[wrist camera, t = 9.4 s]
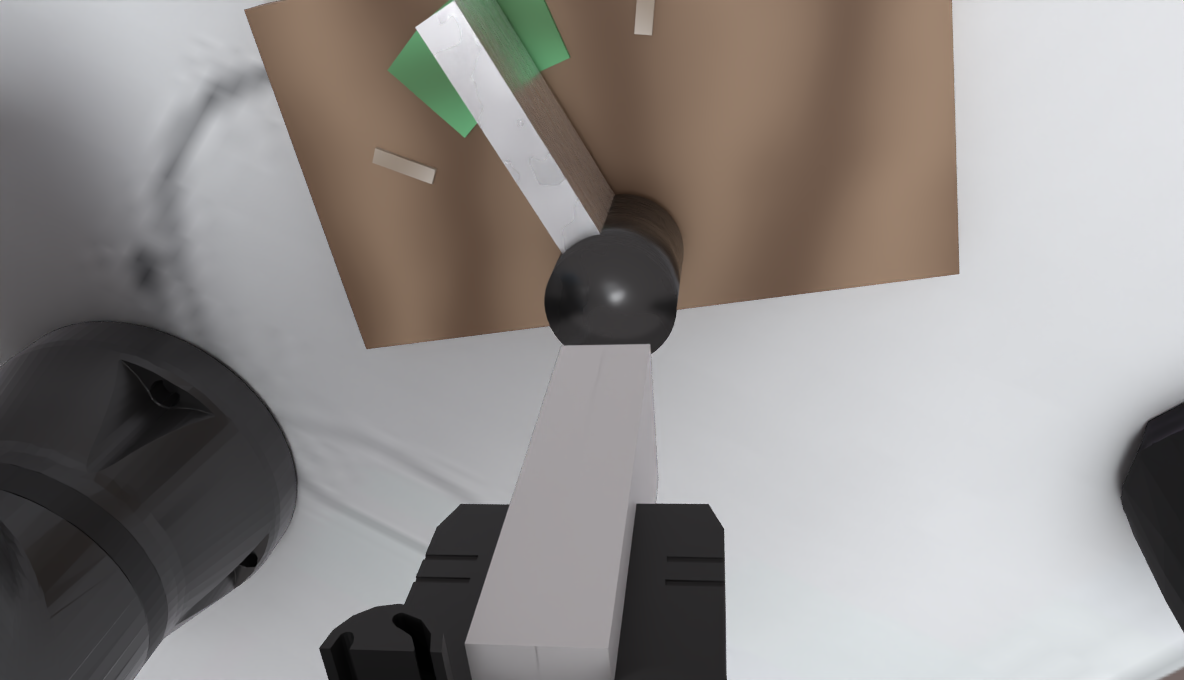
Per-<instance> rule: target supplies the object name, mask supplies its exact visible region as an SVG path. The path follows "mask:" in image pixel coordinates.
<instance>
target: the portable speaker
mask: <svg viewBox="0 0 1184 680" xmlns="http://www.w3.org/2000/svg"><path fill="white" fill-rule="evenodd" d="M1121 501H1122V505H1123V510H1124V512H1125V513H1126V516H1127V519H1128V521H1129V524H1130V526H1131V529H1132V532H1133V534H1134V537H1135V539H1136V541H1137V543H1138V545H1139V547H1140V549H1141V551H1142V553H1143V555H1144V557H1145V559H1146V561H1147V563H1148V565H1149V567H1150V570H1151V572H1152V574H1153V576H1154V578H1155V580H1156V582H1157V584H1158V586H1159V588H1160V590H1161V592H1162V594H1163V596H1164V598H1165V600H1166V602H1167V604H1168V606H1169V608H1170V609H1171V611H1172V613H1173V615H1174V616H1175V618H1176V620H1177V622H1178V623H1179V625H1180V627H1181V629H1182V630H1183V632H1184V403H1183V404H1182V405H1180V406H1178V407H1176V408H1174V409H1172V410H1170V411H1168V412H1166V413H1164V414H1162V415H1160V416H1158V417H1157V418H1155V419H1153V420H1151V421H1149V422H1148V425H1147V428H1146V431H1145V434H1144V437H1143V440H1142V443H1141V446H1140V448H1139V450H1138V453H1137V455H1136V457H1135V460H1134V462H1133V464H1132V466H1131V468H1130V471H1129V473H1128V475H1127V477H1126V479H1125V482H1124V484H1123V486H1122V497H1121Z"/></svg>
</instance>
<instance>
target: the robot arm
mask: <svg viewBox="0 0 1184 680" xmlns="http://www.w3.org/2000/svg"><path fill="white" fill-rule="evenodd" d="M657 487H658V465H657V448H656V432H655V415H654V398H653V382H652V365H651V349H650V344H626V345H566V346H561V348H560V351H559V354H558V357H557V360H556V363H555V366H554V370H553V373H552V376H551V379H550V382H549V385H548V388H547V391H546V394H545V397H544V400H543V403H542V407H541V410H540V413H539V416H538V419H537V422H536V425H535V428H534V431H533V434H532V437H531V440H530V444H529V447H528V450H527V453H526V456H525V459H524V462H523V465H522V468H521V471H520V474H519V477H518V481H517V484H516V487H515V490H514V493H513V496H512V499H511V502H510V505H497V504H460V505H459V506H458V507H457V508H456V509H455V510H454V511H453V512H452V513H451V514H450V515H449V516H448V517H447V518H446V519H445V520H444V521H443V522H442V523H441V524H440V525H439V526H438V527H437V528H436V531H435V533H434V535H433V538H432V540H431V542H430V545H429V547H428V550H427V552H426V558H425V560H423V561H422V564H421V566H420V568H419V571H418V573H417V576H416V582H414V583H413V585H412V587H411V590H410V592H409V594H408V597H407V599H406V601H405V604H404V605H403V604H394V605H386V606H377V607H374V608H371V609H369V610H366V611H364V612H361V613H359V614H356V615H353V616H352V617H350V618H349V619H348V620H346V621H345V622H343V623H342V624H341V625H339V626H338V627H337V628H335V629H334V630H333V631H332V632H331V633H330V635H329V636H328V637H327V639H326V640H325V641H324V643H323V644H322V645H321V647H320V648H319V649H320V653H321V656H322V659H323V662H324V666H325V669H326V672H327V676H328V679H329V680H727V676H726V604H725V553H724V528H723V527H722V525H721V523H720V522H719V520H718V519H717V517H716V515H715V514H714V512H713V511H712V509H711V507H710V506H709V504H656V498H657ZM296 490H297V489H296V475H295V469H294V465H293V460H292V457H291V454H290V451H289V448H288V446H287V443H286V441H285V439H284V437H283V434H282V432H281V431H280V429H279V427H278V425H277V423H276V422H275V420H274V419H273V417H272V416H271V414H270V413H269V411H268V410H267V409H266V407H265V406H264V405H263V403H262V402H261V401H260V400H259V398H258V397H257V396H256V395H255V394H254V393H253V392H252V391H251V390H250V389H249V387H248V386H247V385H246V384H245V383H243V382H242V381H241V380H240V379H239V378H238V377H237V376H236V375H235V374H233V373H232V372H231V371H230V370H229V369H227V368H226V367H225V366H223V365H222V364H221V363H220V362H218V361H217V360H215V359H214V358H212V357H211V356H209V355H208V354H206V353H204V352H203V351H201V350H199V349H198V348H196V347H194V346H192V345H190V344H188V343H186V342H184V341H182V340H180V339H178V338H175V337H173V336H171V335H168V334H165V333H163V332H160V331H157V330H153V329H150V328H146V327H142V326H138V325H133V324H128V323H120V322H105V321H103V322H86V323H79V324H74V325H70V326H66V327H63V328H60V329H58V330H55V331H53V332H51V333H49V334H47V335H45V336H44V337H42V338H40V339H39V340H37V341H36V342H34V343H33V344H31V345H30V346H29V347H27V348H26V349H24V350H23V351H21V352H20V353H18V354H17V355H15V356H14V357H13V358H11V359H10V360H9V361H7V362H6V363H5V364H4V365H3V366H2V367H1V368H0V680H134V678H135V677H136V675H137V674H138V672H139V671H140V669H141V668H142V667H143V665H144V664H145V663H146V661H147V660H148V659H149V657H150V656H151V655H152V653H153V652H154V651H155V649H156V648H157V646H158V645H159V644H160V643H161V641H162V640H163V639H164V638H165V637H166V636H168V635H169V634H170V633H172V632H173V631H175V630H176V629H178V628H179V627H180V626H182V625H183V624H185V623H186V622H188V621H189V620H190V619H192V618H193V617H195V616H196V615H198V614H199V613H200V612H202V611H203V610H205V609H206V608H208V607H209V606H210V605H212V604H213V603H215V602H216V601H218V600H219V599H220V598H222V597H223V596H225V595H226V594H228V593H229V592H231V591H232V590H233V589H235V588H236V587H238V586H239V585H241V584H242V583H243V582H245V581H246V580H247V579H248V578H250V577H251V576H252V575H253V574H254V573H255V572H256V571H257V570H258V569H259V568H260V567H261V566H262V564H263V563H264V562H265V561H266V559H267V558H268V556H269V555H270V553H271V552H272V550H273V549H274V548H275V546H276V545H277V543H278V542H279V540H280V539H281V537H282V536H283V534H284V533H285V531H286V529H287V527H288V525H289V523H290V521H291V518H292V515H293V512H294V508H295V502H296Z"/></svg>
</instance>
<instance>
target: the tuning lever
mask: <svg viewBox="0 0 1184 680" xmlns="http://www.w3.org/2000/svg"><path fill="white" fill-rule="evenodd" d="M415 28H416V29H417V31H418V32H419V34H420V36H421V37H422V39H423V40H424V42H425V43H426V45H427V46H428V48H429V49H430V51H431V52H432V54H433V56H434V57H435V59H436V60H437V62H438V63H439V65H440V66H441V68H442V69H443V71H444V72H445V74H446V75H447V77H448V79H449V80H450V82H451V83H452V85H453V86H454V88H455V89H456V91H457V92H458V94H459V95H460V97H461V99H462V100H463V102H464V103H465V105H466V106H467V108H468V109H469V111H470V112H471V114H472V115H473V117H474V119H475V120H476V122H477V123H478V125H479V126H480V128H481V129H482V131H483V132H484V134H485V135H486V137H487V139H488V140H489V142H490V143H491V145H492V146H493V148H494V149H495V151H496V152H497V154H498V155H499V157H500V159H501V160H502V162H503V163H504V165H505V166H506V168H507V169H508V171H509V172H510V174H511V175H512V177H513V179H514V180H515V182H516V183H517V185H518V186H519V188H520V189H521V191H522V192H523V194H524V195H525V197H526V199H527V200H528V202H529V203H530V205H531V206H532V208H533V209H534V211H535V212H536V214H537V215H538V217H539V219H540V220H541V222H542V223H543V225H544V226H545V228H546V229H547V231H548V232H549V234H550V235H551V237H552V239H553V240H554V242H555V243H556V245H557V246H558V248H559V249H560V251H561V253H560V256H559V258H558V260H557V262H556V265H555V267H554V269H553V271H552V274H551V276H550V278H549V280H548V283H547V286H546V290H545V296H544V306H545V313H546V317H547V320H548V322H549V325H550V327H551V329H552V331H553V332H554V334H555V335H556V337H557V338H558V339H559V340H560V341H561V342H562V343H563V344H564V346H566V345H626V344H650V349H651V354H652V353H653V352H655V351H656V350H657V349H658V348H659V347H660V346H661V345H662V344H663V343H664V342H665V340H666V339H667V338H668V336H669V334H670V333H671V331H672V328H673V326H674V322H675V318H676V311H677V303H678V295H679V288H680V280H681V272H682V264H683V255H684V244H683V239H682V235H681V232H680V230H679V228H678V226H677V224H676V222H675V221H674V219H673V218H672V216H671V215H670V214H669V213H668V212H667V211H666V210H665V209H664V208H662V207H661V206H660V205H658V204H657V203H655V202H653V201H651V200H649V199H647V198H644V197H641V196H636V195H630V194H617V195H614V193H613V191H612V190H611V188H610V186H609V185H608V183H607V182H606V180H605V178H604V177H603V175H602V173H601V172H600V170H599V168H598V167H597V165H596V163H595V162H594V160H593V159H592V157H591V155H590V154H589V152H588V150H587V149H586V147H585V145H584V144H583V142H582V140H581V139H580V137H579V136H578V134H577V132H576V131H575V129H574V127H573V126H572V124H571V122H570V121H569V119H568V118H567V116H566V114H565V113H564V111H563V109H562V108H561V106H560V104H559V103H558V101H557V99H556V98H555V96H554V95H553V93H552V91H551V90H550V88H549V86H548V85H547V83H546V81H545V80H544V78H543V77H542V75H541V73H540V72H539V70H538V68H537V67H536V65H535V63H534V62H533V60H532V58H531V57H530V55H529V54H528V52H527V50H526V49H525V47H524V45H523V44H522V42H521V40H520V39H519V37H518V36H517V34H516V32H515V31H514V29H513V27H512V26H511V24H510V22H509V21H508V19H507V17H506V16H505V14H504V13H503V11H502V9H501V8H500V6H499V4H498V3H497V1H496V0H454V1H453V2H451V3H450V4H448V5H447V6H445V7H444V8H442V9H441V10H439V11H438V12H437V13H435V14H434V15H432V16H431V17H429V18H428V19H426V20H425V21H423V22H422V23H421V24H419V25H418V26H416V27H415Z"/></svg>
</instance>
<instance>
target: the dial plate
mask: <svg viewBox="0 0 1184 680" xmlns="http://www.w3.org/2000/svg"><path fill="white" fill-rule="evenodd" d="M453 1H454V0H280V1H276V2H271V3H267V4H262V5H259V6H256V7H252V8H249V9H245V10H244V11H245V14H246V16H247V19H248V22H249V25H250V28H251V30H252V33H253V36H254V39H255V41H256V44H257V47H258V50H259V52H260V55H261V58H262V61H263V64H264V66H265V69H266V72H267V75H268V77H269V80H270V83H271V86H272V89H273V91H274V94H275V97H276V100H277V102H278V105H279V108H280V111H281V114H282V116H283V119H284V122H285V125H286V127H287V130H288V133H289V136H290V139H291V141H292V144H293V147H294V150H295V152H296V155H297V158H298V161H299V164H300V166H301V169H302V172H303V175H304V177H305V180H306V183H307V186H308V188H309V191H310V194H311V197H312V200H313V202H314V205H315V208H316V211H317V213H318V216H319V219H320V222H321V225H322V227H323V230H324V233H325V236H326V238H327V241H328V244H329V247H330V250H331V252H332V255H333V258H334V261H335V263H336V266H337V269H338V272H339V275H340V277H341V280H342V283H343V286H344V288H345V291H346V294H347V297H348V300H349V302H350V305H351V308H352V311H353V313H354V316H355V319H356V322H357V325H358V327H359V330H360V333H361V336H362V338H363V341H364V344H365V347H366V349H372V348H380V347H387V346H395V345H403V344H411V343H419V342H427V341H435V340H443V339H450V338H458V337H466V336H474V335H482V334H490V333H498V332H506V331H513V330H521V329H529V328H537V327H545V326H550V325H549V322H548V320H547V317H546V313H545V306H544V296H545V290H546V286H547V283H548V280H549V278H550V276H551V274H552V271H553V269H554V267H555V265H556V262H557V260H558V258H559V256H560V253H561V251H560V249H559V248H558V246H557V245H556V243H555V242H554V240H553V239H552V237H551V235H550V234H549V232H548V231H547V229H546V228H545V226H544V225H543V223H542V222H541V220H540V219H539V217H538V215H537V214H536V212H535V211H534V209H533V208H532V206H531V205H530V203H529V202H528V200H527V199H526V197H525V195H524V194H523V192H522V191H521V189H520V188H519V186H518V185H517V183H516V182H515V180H514V179H513V177H512V175H511V174H510V172H509V171H508V169H507V168H506V166H505V165H504V163H503V162H502V160H501V159H500V157H499V155H498V154H497V152H496V151H495V149H494V148H493V146H492V145H491V143H490V142H489V140H488V139H487V137H486V135H485V134H484V132H483V131H482V129H481V128H480V126H479V125H478V123H477V122H476V120H475V119H474V117H473V115H472V114H471V112H470V111H469V109H468V108H467V106H466V105H465V103H464V102H463V100H462V99H461V97H460V95H459V94H458V92H457V91H456V89H455V88H454V86H453V85H452V83H451V82H450V80H449V79H448V77H447V75H446V74H445V72H444V71H443V69H442V68H441V66H440V65H439V63H438V62H437V60H436V59H435V57H434V56H433V54H432V52H431V51H430V49H429V48H428V46H427V45H426V43H425V42H424V40H423V39H422V37H421V36H420V34H419V32H418V31H417V29H416V28H415V27H416V26H418V25H419V24H421V23H422V22H423V21H425V20H426V19H428V18H429V17H431V16H432V15H434V14H435V13H437V12H438V11H439V10H441V9H442V8H444V7H445V6H447V5H448V4H450V3H451V2H453ZM496 1H497V3H498V4H499V6H500V8H501V9H502V11H503V13H504V14H505V16H506V17H507V19H508V21H509V22H510V24H511V26H512V27H513V29H514V31H515V32H516V34H517V36H518V37H519V39H520V40H521V42H522V44H523V45H524V47H525V49H526V50H527V52H528V54H529V55H530V57H531V58H532V60H533V62H534V63H535V65H536V67H537V68H538V70H539V72H540V73H541V75H542V77H543V78H544V80H545V81H546V83H547V85H548V86H549V88H550V90H551V91H552V93H553V95H554V96H555V98H556V99H557V101H558V103H559V104H560V106H561V108H562V109H563V111H564V113H565V114H566V116H567V118H568V119H569V121H570V122H571V124H572V126H573V127H574V129H575V131H576V132H577V134H578V136H579V137H580V139H581V140H582V142H583V144H584V145H585V147H586V149H587V150H588V152H589V154H590V155H591V157H592V159H593V160H594V162H595V163H596V165H597V167H598V168H599V170H600V172H601V173H602V175H603V177H604V178H605V180H606V182H607V183H608V185H609V186H610V188H611V190H612V191H613V193H614V195H617V194H630V195H636V196H641V197H644V198H647V199H649V200H651V201H653V202H655V203H657V204H658V205H660V206H661V207H662V208H664V209H665V210H666V211H667V212H668V213H669V214H670V215H671V216H672V218H673V219H674V221H675V222H676V224H677V226H678V228H679V230H680V232H681V235H682V239H683V244H684V255H683V264H682V272H681V280H680V288H679V295H678V303H677V310H679V309H687V308H695V307H703V306H710V305H718V304H726V303H734V302H742V301H750V300H758V299H766V298H774V297H781V296H789V295H797V294H805V293H813V292H821V291H829V290H837V289H844V288H852V287H860V286H868V285H876V284H884V283H892V282H900V281H908V280H915V279H923V278H931V277H939V276H947V275H955V274H959V244H958V208H957V171H956V135H955V99H954V62H953V26H952V0H496Z"/></svg>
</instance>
